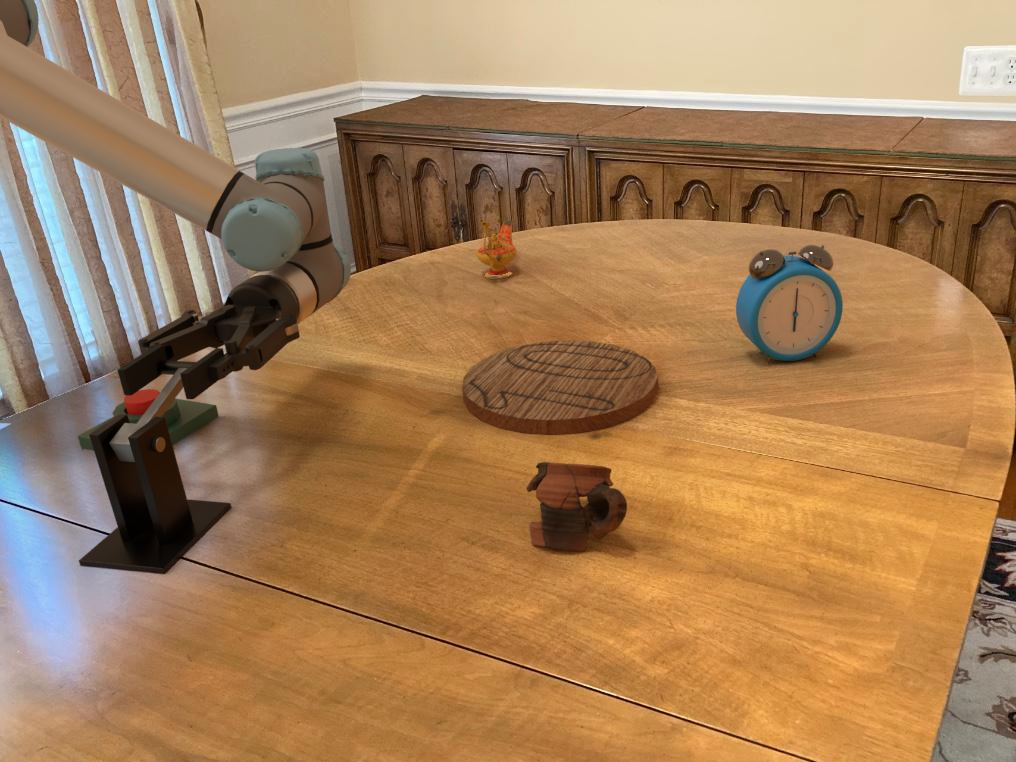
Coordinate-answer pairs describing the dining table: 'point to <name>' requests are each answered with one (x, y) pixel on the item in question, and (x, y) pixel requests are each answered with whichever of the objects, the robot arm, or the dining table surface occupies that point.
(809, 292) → the alarm clock
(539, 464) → the pottery mug
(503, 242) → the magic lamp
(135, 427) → the lever
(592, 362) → the trivet
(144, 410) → the button
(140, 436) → the bracket
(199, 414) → the button block
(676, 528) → the dining table surface
